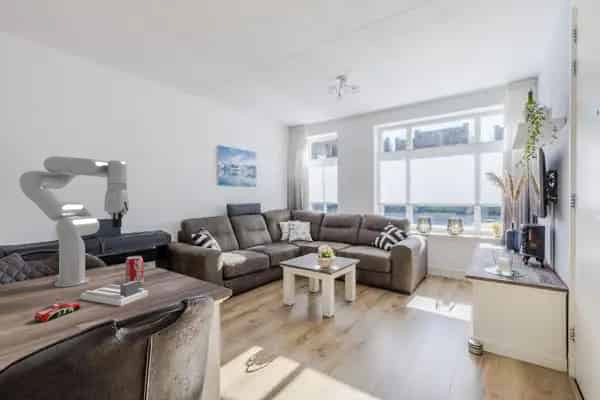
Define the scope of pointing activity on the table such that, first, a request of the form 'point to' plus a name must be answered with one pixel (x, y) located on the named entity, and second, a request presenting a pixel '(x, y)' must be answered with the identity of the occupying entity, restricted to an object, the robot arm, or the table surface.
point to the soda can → (134, 269)
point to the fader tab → (129, 288)
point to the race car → (56, 311)
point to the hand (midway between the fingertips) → (117, 227)
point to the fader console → (112, 295)
